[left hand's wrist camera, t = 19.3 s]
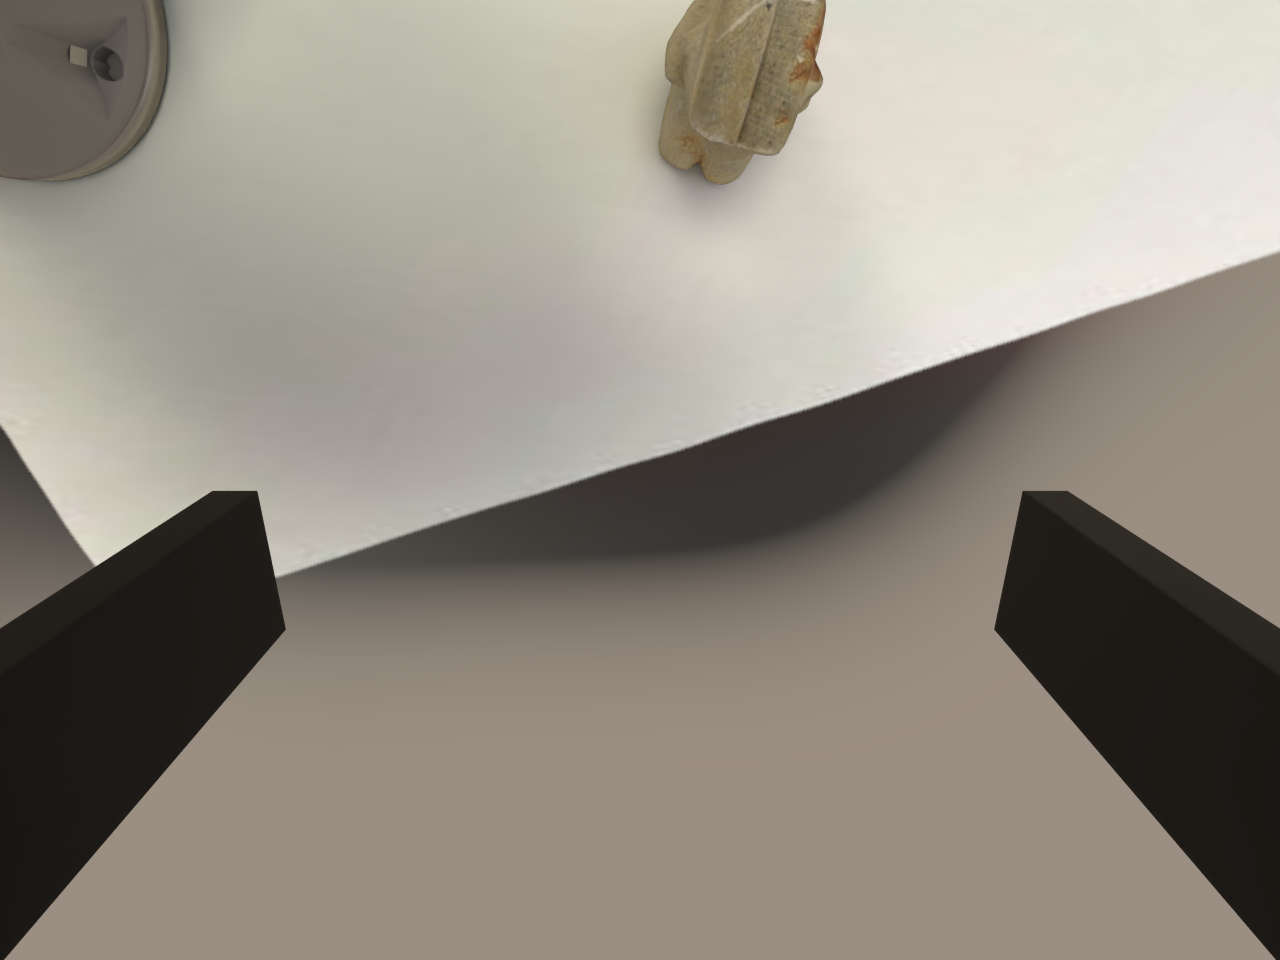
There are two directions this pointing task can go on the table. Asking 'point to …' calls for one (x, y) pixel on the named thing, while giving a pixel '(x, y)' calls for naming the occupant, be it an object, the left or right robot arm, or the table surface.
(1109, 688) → the left robot arm
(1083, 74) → the table surface
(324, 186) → the table surface
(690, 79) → the sculpture
